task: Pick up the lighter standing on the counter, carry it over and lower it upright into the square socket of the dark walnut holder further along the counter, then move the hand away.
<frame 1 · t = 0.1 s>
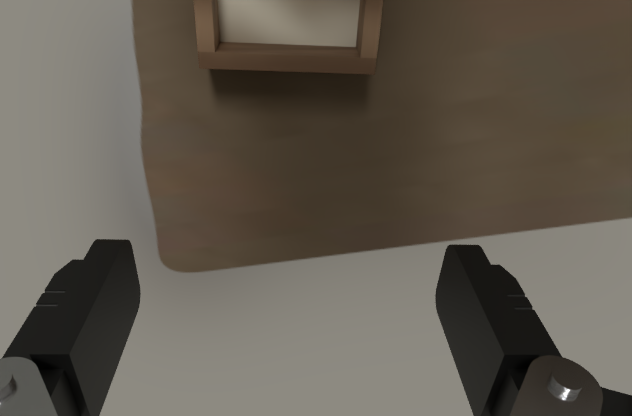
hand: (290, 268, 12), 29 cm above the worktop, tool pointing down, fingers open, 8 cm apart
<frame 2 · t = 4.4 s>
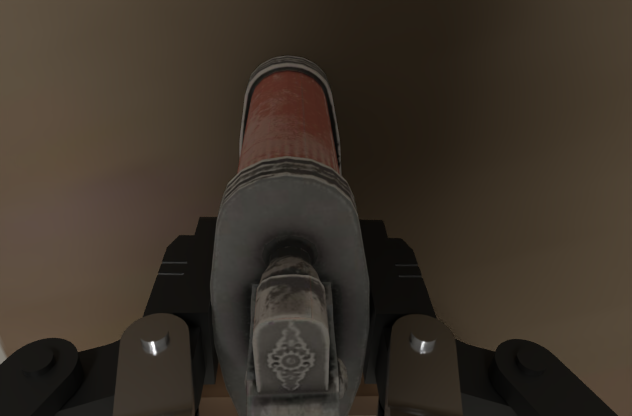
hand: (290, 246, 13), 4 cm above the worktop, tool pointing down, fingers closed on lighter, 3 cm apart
lighter: (291, 169, 17), on the worktop, touching gripper
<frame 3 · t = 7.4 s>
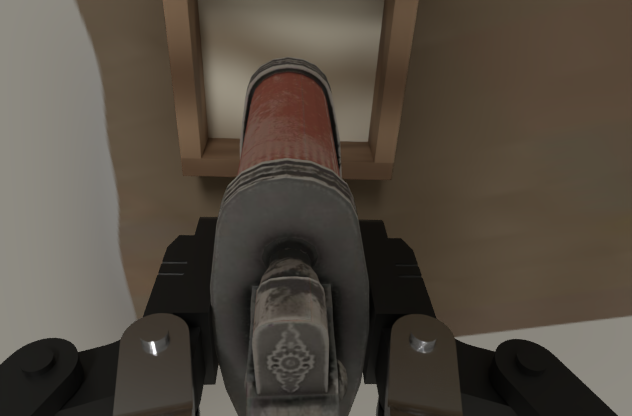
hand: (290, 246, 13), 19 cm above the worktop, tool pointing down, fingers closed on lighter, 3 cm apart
lighter: (291, 171, 17), point 15 cm above the worktop, touching gripper
walnut holder: (290, 57, 29), on the worktop
when the fingers open (6 cm above the worktop, at t = 10.4 s): lighter drops 1 cm, resting on walnut holder.
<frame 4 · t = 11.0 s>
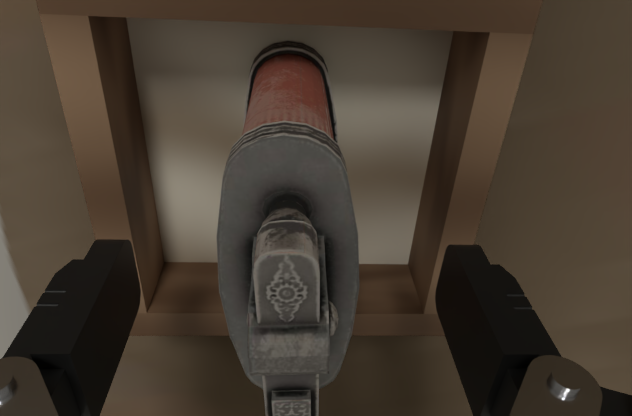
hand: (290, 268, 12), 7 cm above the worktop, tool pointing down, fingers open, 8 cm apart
lighter: (291, 149, 18), resting on walnut holder
walnut holder: (290, 147, 18), on the worktop
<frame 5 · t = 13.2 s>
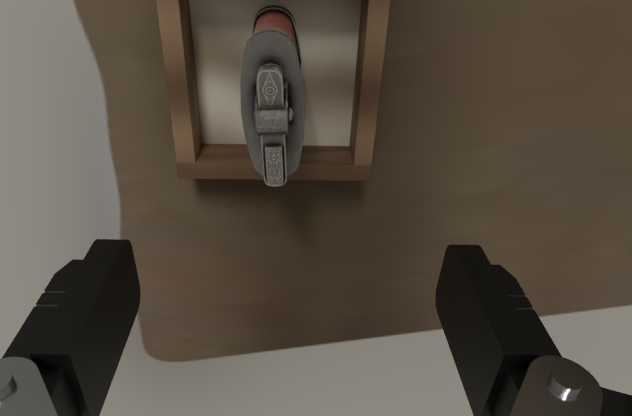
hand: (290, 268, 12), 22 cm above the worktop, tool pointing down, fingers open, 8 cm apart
lighter: (276, 69, 32), resting on walnut holder
walnut holder: (276, 69, 32), on the worktop
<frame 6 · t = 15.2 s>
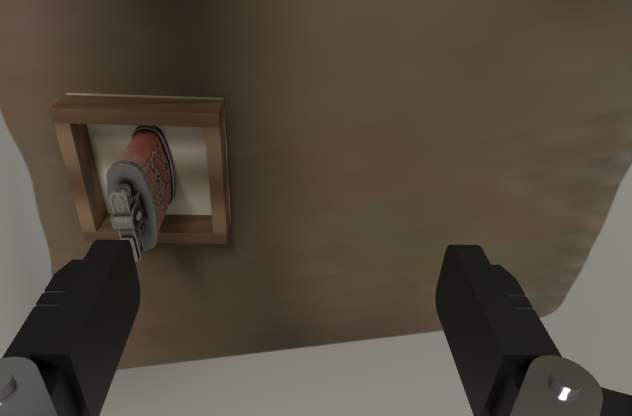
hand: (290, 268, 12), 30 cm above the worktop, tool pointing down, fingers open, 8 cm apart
lighter: (156, 164, 44), resting on walnut holder
walnut holder: (156, 163, 44), on the worktop
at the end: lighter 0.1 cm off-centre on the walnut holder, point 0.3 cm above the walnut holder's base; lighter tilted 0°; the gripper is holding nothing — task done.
